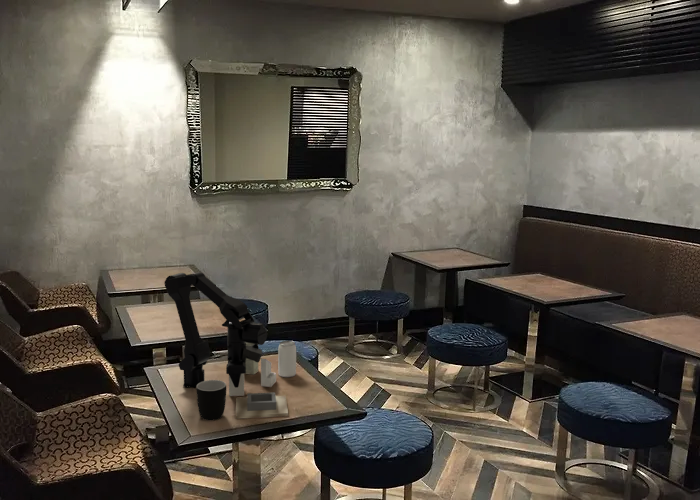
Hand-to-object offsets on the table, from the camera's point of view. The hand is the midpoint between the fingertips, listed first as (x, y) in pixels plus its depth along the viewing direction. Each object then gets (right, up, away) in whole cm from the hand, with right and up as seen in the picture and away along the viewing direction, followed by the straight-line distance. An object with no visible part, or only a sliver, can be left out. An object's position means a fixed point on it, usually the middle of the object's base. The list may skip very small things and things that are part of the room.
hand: (236, 384), depth 209 cm
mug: (-5, -6, -16) cm, 18 cm away
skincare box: (+1, 0, +21) cm, 21 cm away
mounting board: (+10, -5, -11) cm, 16 cm away
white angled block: (+9, -2, +10) cm, 14 cm away
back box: (+10, -5, -11) cm, 16 cm away
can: (+15, -1, +19) cm, 24 cm away
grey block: (0, -3, 0) cm, 3 cm away
